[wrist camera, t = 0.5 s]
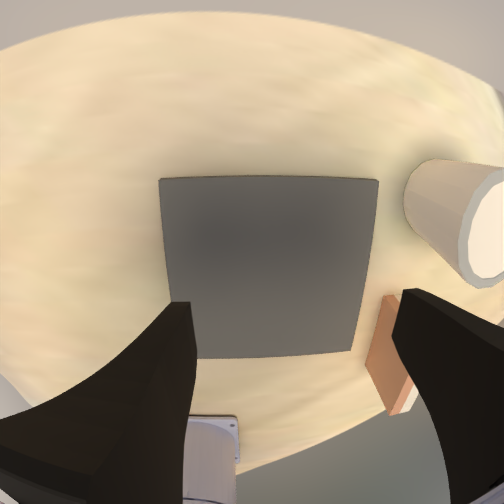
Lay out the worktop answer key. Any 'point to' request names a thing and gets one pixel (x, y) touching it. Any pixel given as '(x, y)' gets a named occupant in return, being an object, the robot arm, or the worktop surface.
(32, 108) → the worktop surface
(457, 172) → the white short cylinder
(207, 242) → the plate
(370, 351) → the tile
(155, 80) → the worktop surface
